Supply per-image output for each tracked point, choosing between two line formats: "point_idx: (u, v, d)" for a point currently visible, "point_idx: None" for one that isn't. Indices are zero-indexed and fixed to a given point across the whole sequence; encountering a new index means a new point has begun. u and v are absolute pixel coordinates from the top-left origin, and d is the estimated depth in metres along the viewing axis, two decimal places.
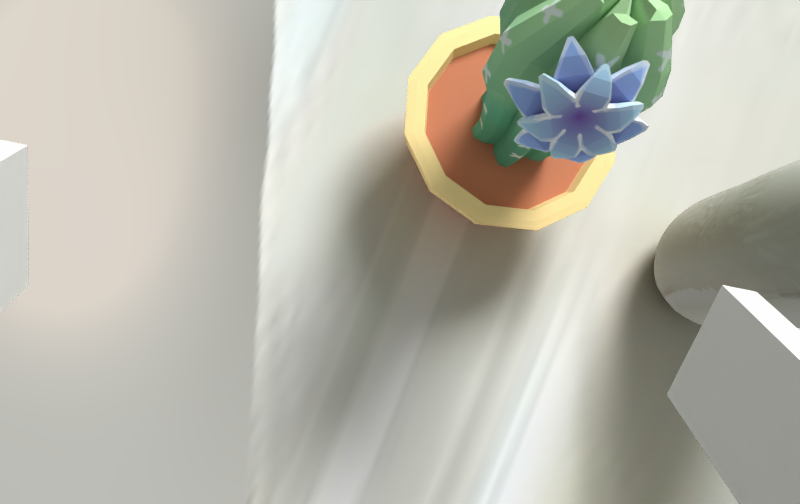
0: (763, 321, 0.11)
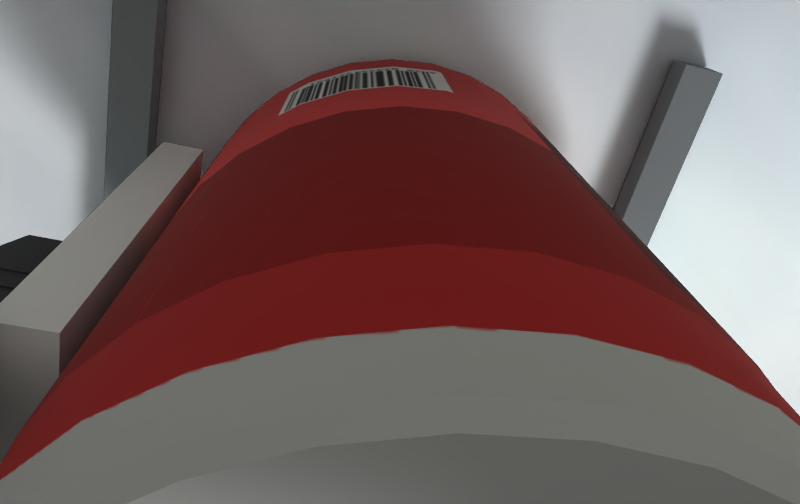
0: None
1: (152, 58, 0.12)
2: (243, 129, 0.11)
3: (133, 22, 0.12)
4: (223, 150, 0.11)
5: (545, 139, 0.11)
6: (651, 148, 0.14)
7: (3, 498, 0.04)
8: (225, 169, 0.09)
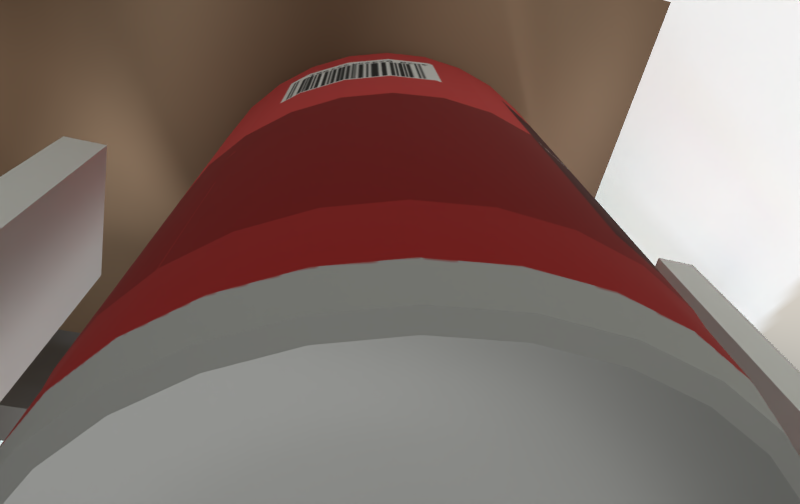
0: (692, 290, 0.12)
1: None
2: (248, 117, 0.12)
3: None
4: (229, 136, 0.12)
5: (528, 126, 0.12)
6: None
7: (53, 400, 0.05)
8: (232, 150, 0.09)
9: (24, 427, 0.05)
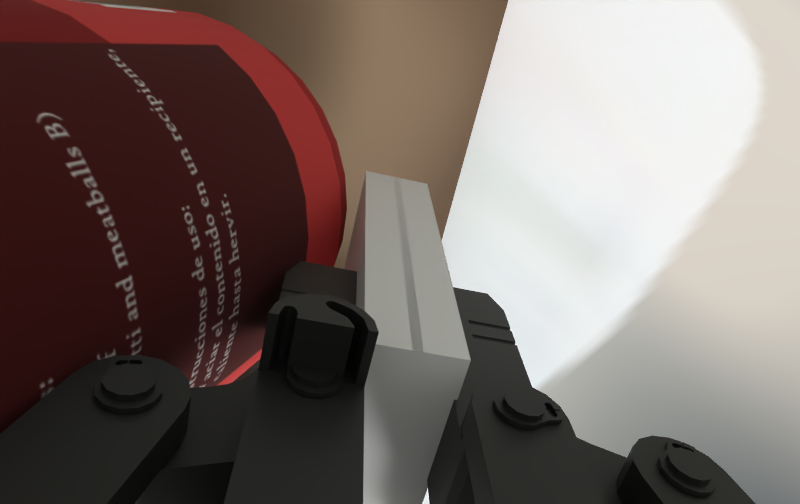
0: (400, 199, 0.13)
1: None
2: None
3: None
4: None
5: (211, 65, 0.10)
6: None
7: None
8: None
9: None
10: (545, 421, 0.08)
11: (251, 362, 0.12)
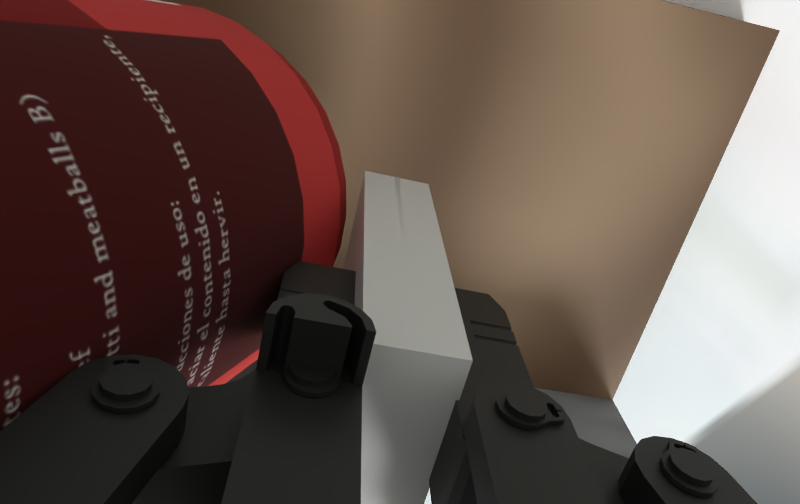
0: (402, 199, 0.13)
1: None
2: None
3: None
4: None
5: (212, 58, 0.10)
6: None
7: None
8: None
9: None
10: (547, 421, 0.08)
11: (239, 368, 0.11)
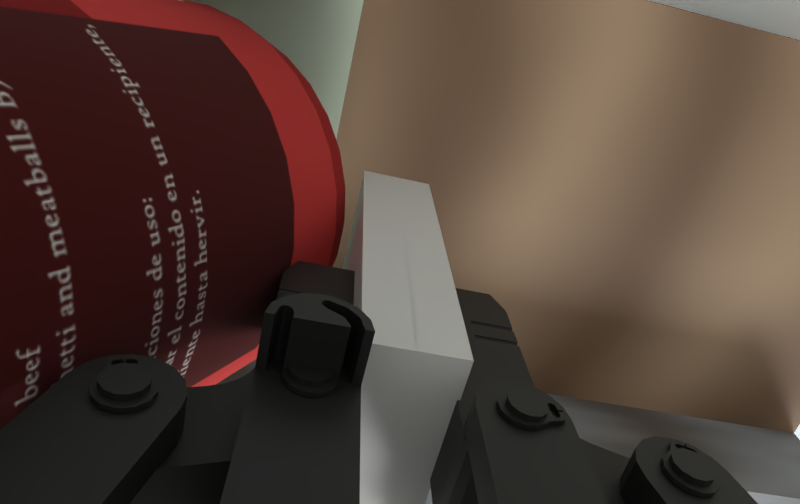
0: (402, 200, 0.13)
1: None
2: None
3: None
4: None
5: (205, 55, 0.10)
6: None
7: None
8: None
9: None
10: (548, 422, 0.08)
11: (221, 375, 0.11)
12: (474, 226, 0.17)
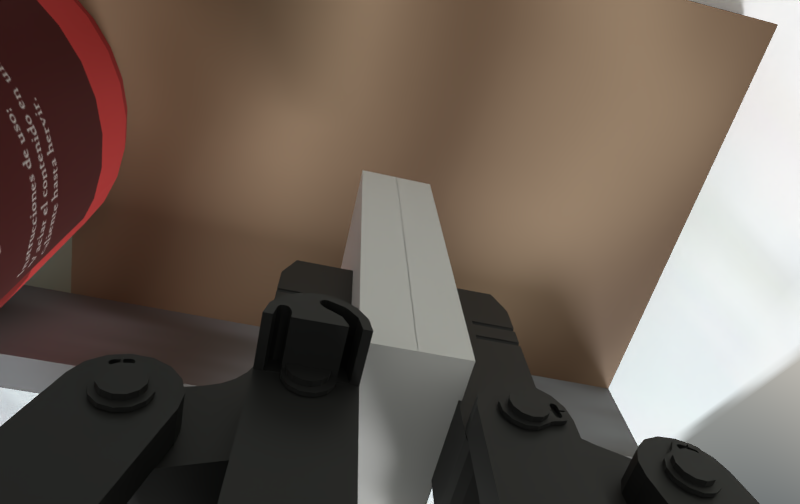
0: (403, 200, 0.13)
1: None
2: None
3: None
4: None
5: None
6: None
7: None
8: None
9: None
10: (550, 423, 0.07)
11: (62, 242, 0.14)
12: (236, 160, 0.16)
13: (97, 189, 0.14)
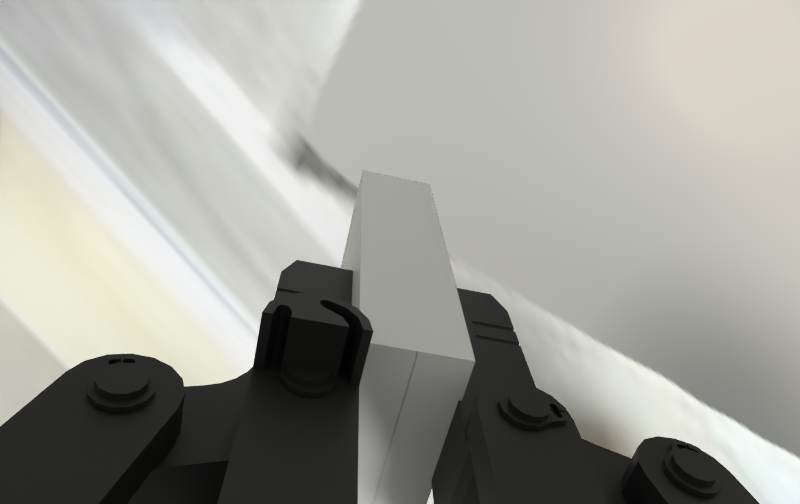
0: (403, 200, 0.13)
1: None
2: None
3: None
4: None
5: None
6: None
7: None
8: None
9: None
10: (550, 422, 0.08)
11: None
12: None
13: None
